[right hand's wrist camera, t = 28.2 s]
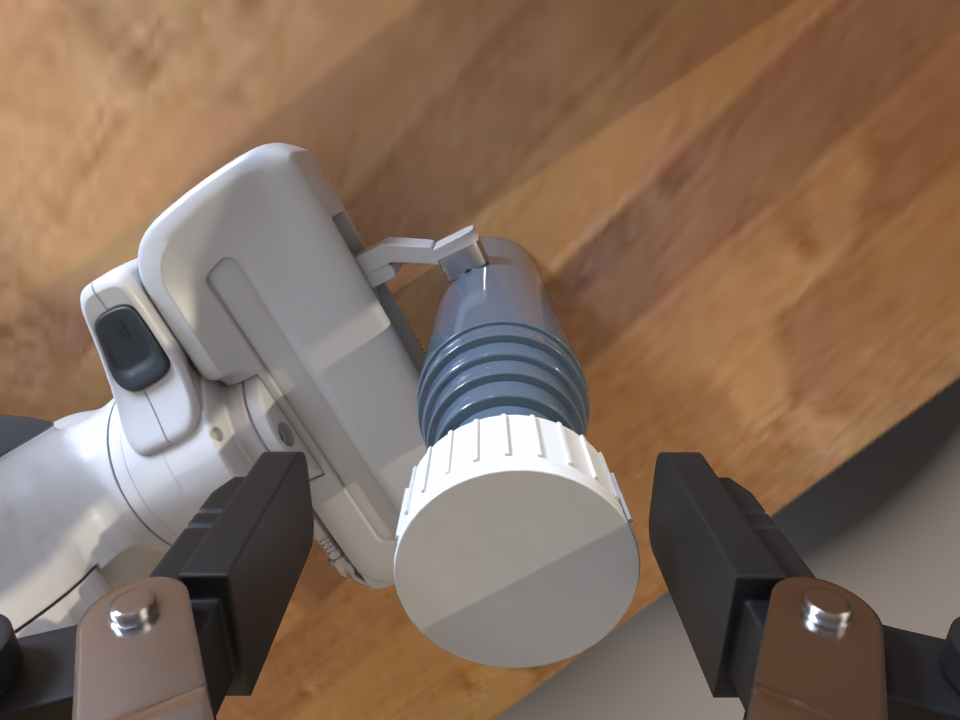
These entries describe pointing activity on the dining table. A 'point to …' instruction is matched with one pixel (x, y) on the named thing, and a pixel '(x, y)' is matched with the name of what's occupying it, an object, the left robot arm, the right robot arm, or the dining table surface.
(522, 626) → the cap
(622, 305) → the dining table surface
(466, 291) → the bottle
